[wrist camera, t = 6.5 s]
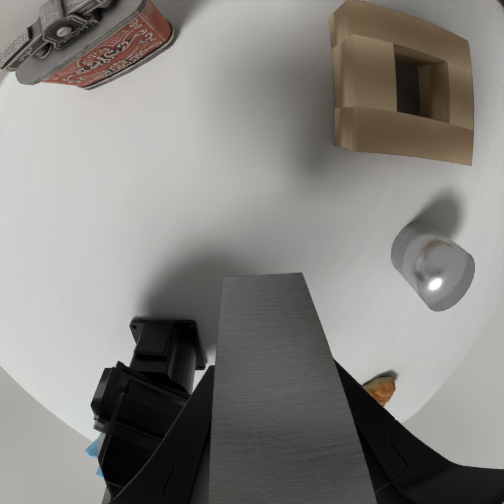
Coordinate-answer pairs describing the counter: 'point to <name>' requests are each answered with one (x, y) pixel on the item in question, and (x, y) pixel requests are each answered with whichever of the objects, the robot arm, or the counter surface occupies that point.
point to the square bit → (280, 402)
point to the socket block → (400, 85)
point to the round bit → (432, 265)
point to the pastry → (381, 389)
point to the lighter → (87, 42)
